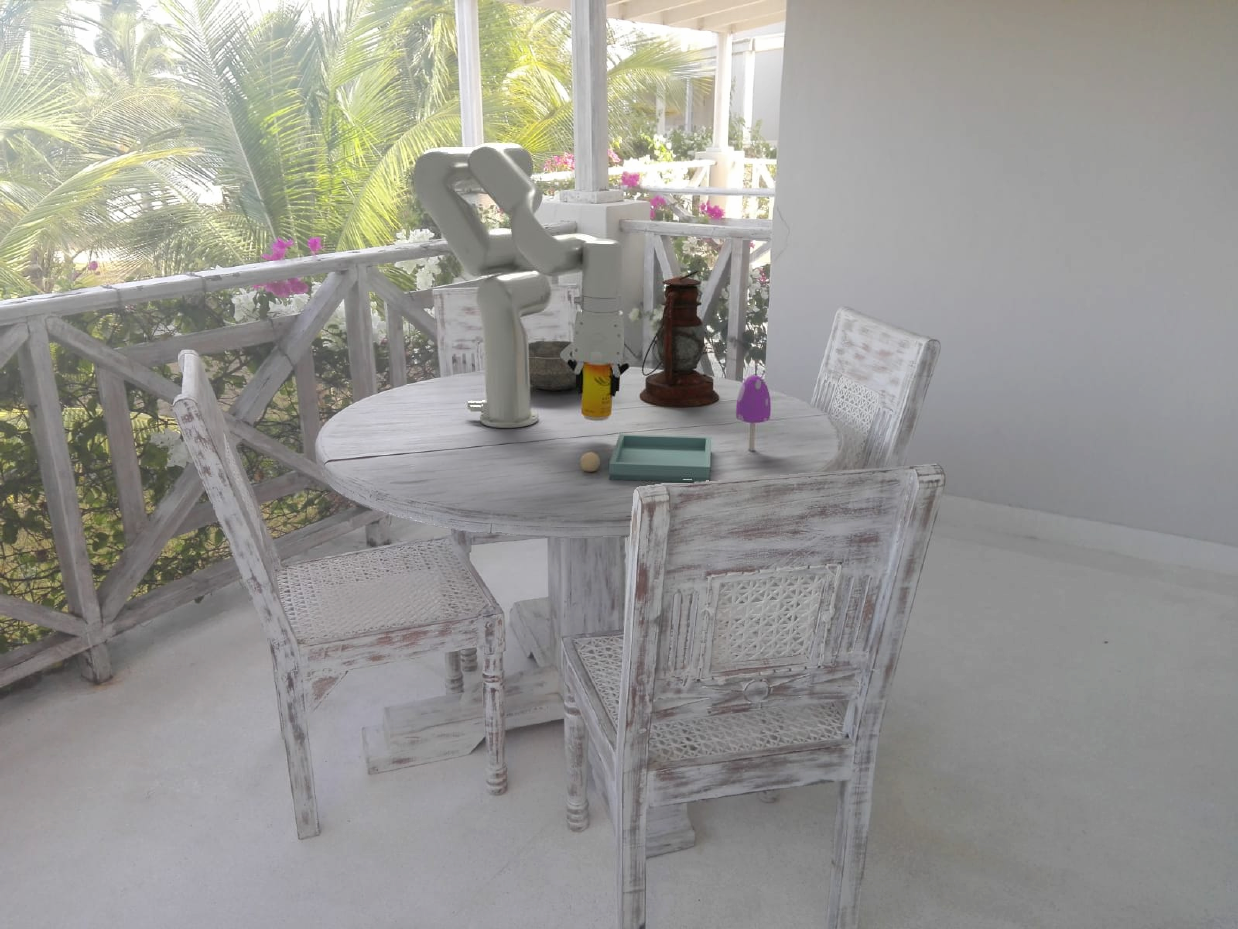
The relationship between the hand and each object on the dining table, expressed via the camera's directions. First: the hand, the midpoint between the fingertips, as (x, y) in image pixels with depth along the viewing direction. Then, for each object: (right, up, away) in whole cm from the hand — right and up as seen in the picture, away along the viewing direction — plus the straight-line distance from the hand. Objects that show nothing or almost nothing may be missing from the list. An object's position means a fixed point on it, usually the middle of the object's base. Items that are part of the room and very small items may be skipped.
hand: (597, 392), depth 189 cm
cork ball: (-1, -16, -15) cm, 22 cm away
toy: (+31, -12, -3) cm, 33 cm away
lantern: (+19, +1, +35) cm, 40 cm away
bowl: (-12, +4, +43) cm, 45 cm away
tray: (+13, -15, -12) cm, 23 cm away
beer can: (0, -5, +2) cm, 5 cm away
